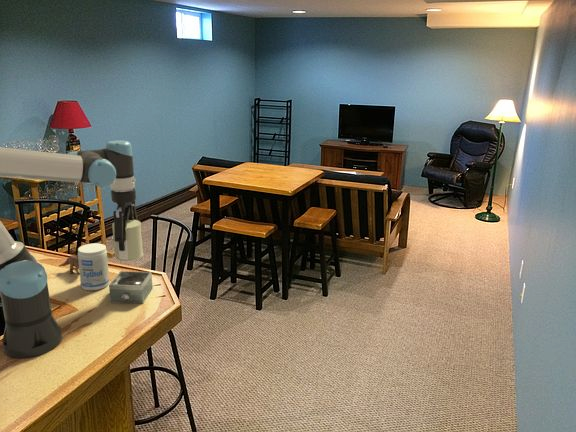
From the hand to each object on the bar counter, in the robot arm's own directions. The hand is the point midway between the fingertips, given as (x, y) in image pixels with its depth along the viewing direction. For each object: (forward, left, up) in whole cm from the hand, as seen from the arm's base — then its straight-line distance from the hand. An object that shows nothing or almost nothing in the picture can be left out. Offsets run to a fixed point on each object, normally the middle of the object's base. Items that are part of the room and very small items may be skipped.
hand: (128, 253), depth 161 cm
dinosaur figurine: (+17, +27, -16) cm, 36 cm away
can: (0, 0, -1) cm, 1 cm away
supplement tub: (+6, +16, -16) cm, 23 cm away
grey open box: (0, 0, -16) cm, 16 cm away
